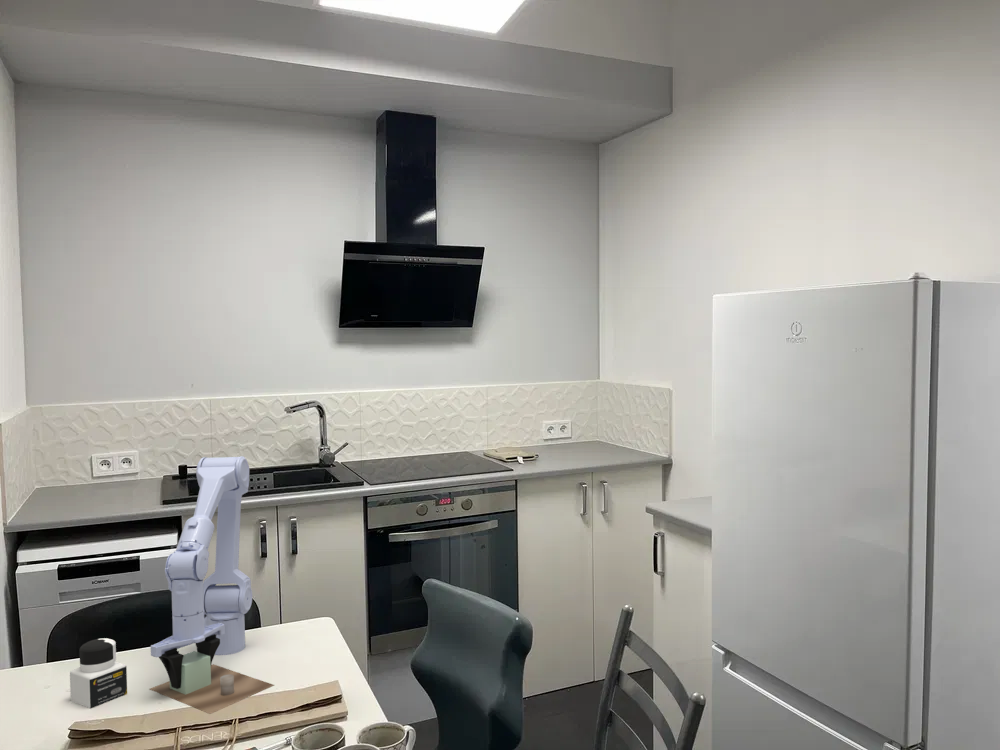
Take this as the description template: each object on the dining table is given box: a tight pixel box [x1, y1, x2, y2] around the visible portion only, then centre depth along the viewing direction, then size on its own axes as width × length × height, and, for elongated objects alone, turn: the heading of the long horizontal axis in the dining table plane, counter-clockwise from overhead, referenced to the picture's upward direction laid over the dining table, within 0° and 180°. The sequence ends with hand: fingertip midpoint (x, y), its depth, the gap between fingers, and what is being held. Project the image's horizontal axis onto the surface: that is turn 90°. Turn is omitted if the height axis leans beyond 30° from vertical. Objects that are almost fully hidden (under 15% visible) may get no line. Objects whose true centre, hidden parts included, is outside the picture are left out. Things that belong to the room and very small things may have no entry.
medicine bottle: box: [69, 637, 128, 709], centre depth 139 cm, size 7×7×12 cm
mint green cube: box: [169, 650, 212, 695], centre depth 143 cm, size 5×5×6 cm
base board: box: [149, 663, 275, 715], centre depth 142 cm, size 20×14×4 cm
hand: (190, 681), depth 143 cm, fingers closed on mint green cube, 5 cm apart
